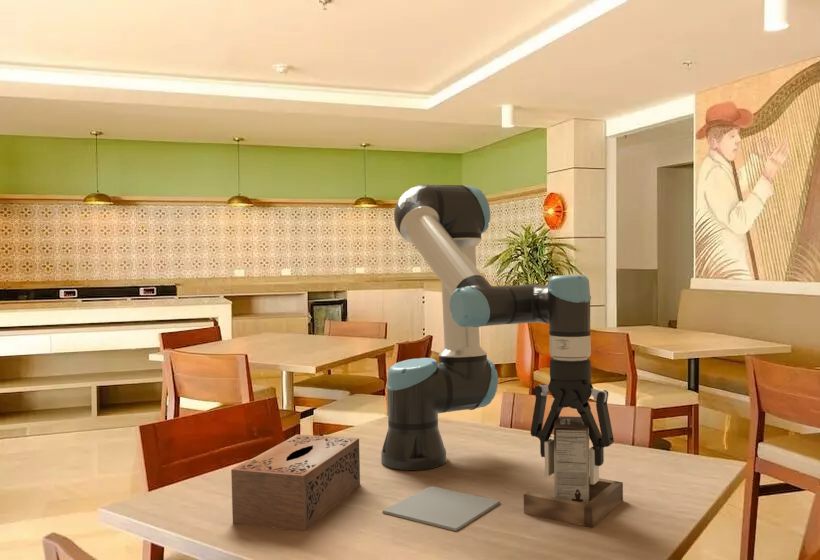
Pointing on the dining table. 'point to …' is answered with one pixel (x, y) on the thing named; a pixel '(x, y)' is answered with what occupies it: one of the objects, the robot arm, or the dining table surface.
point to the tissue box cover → (295, 481)
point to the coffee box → (571, 459)
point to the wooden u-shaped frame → (577, 504)
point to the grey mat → (442, 508)
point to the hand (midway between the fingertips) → (571, 478)
